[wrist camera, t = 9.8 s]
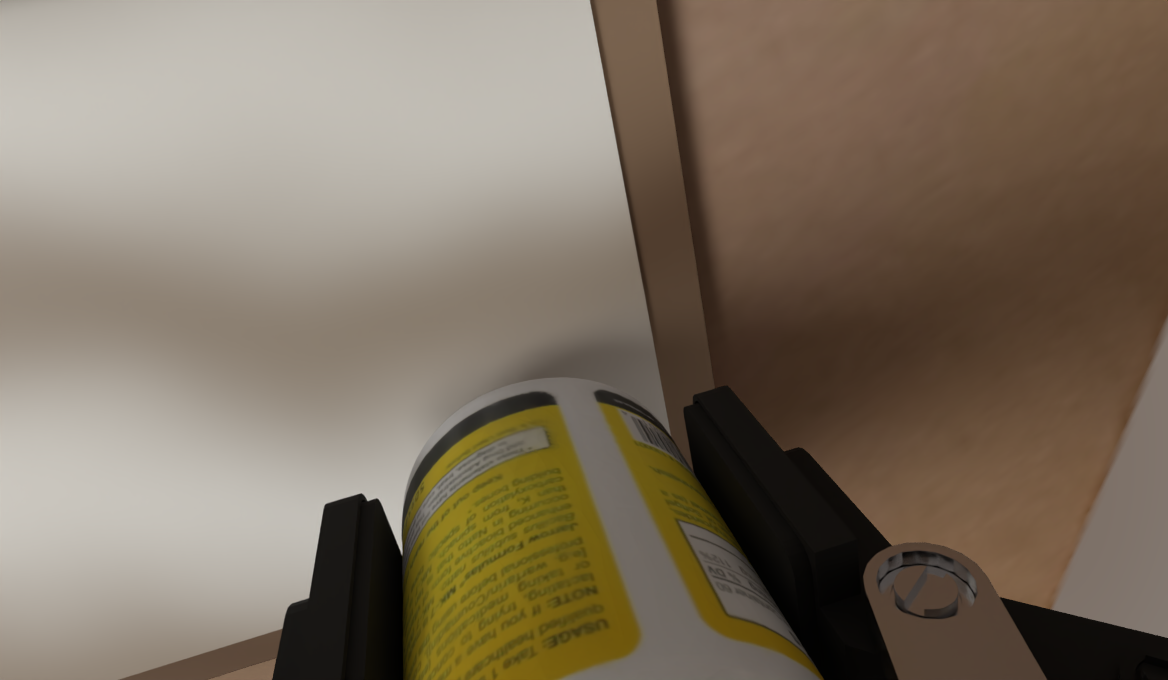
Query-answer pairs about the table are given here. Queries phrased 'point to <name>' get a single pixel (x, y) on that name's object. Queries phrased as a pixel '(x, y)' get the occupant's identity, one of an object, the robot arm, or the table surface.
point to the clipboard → (300, 286)
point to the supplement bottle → (576, 551)
